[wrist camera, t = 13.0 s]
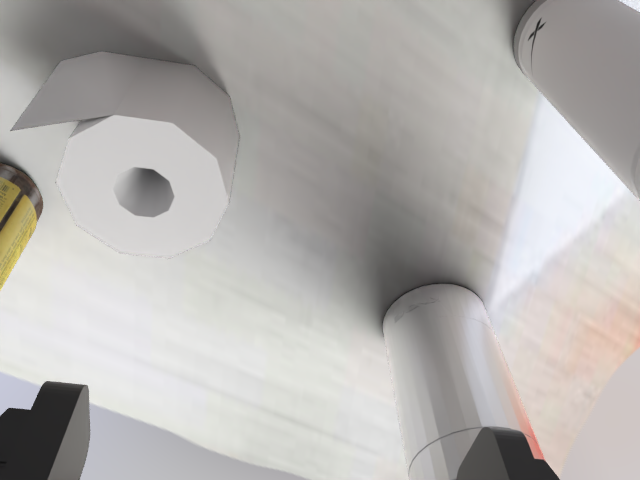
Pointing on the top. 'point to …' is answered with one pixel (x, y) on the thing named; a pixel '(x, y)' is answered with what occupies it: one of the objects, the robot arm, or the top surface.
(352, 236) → the top surface
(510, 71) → the top surface
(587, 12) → the travel mug
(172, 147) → the toilet tissue
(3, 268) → the sauce bottle
